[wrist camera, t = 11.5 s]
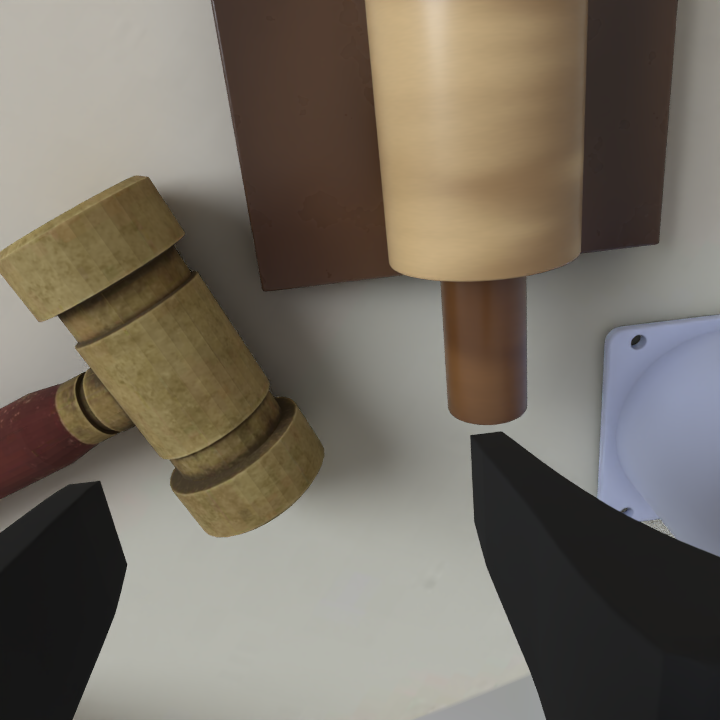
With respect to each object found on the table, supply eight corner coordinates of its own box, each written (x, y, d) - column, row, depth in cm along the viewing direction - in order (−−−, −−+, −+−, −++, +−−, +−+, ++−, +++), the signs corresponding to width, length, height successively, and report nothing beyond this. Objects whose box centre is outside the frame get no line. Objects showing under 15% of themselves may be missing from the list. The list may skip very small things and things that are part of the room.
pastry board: (674, -358, 15) (711, -406, 13) (637, 234, 20) (659, 244, 19) (166, -299, 15) (149, -341, 13) (266, 279, 20) (262, 293, 19)
